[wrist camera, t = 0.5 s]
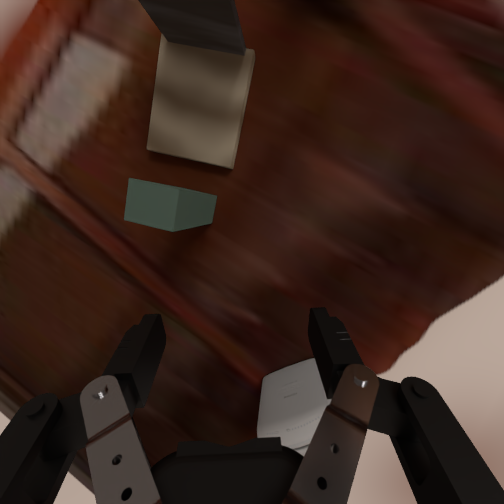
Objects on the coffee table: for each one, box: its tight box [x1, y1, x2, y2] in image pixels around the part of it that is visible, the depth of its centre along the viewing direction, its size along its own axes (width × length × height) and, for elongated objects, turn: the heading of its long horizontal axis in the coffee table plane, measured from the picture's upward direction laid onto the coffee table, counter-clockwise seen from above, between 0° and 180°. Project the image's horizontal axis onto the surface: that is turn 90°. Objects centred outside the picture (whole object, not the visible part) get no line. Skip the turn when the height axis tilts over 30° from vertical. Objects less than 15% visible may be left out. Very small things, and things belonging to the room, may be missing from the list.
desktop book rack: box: [139, 0, 255, 169], centre depth 27 cm, size 14×12×14 cm
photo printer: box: [257, 358, 332, 456], centre depth 33 cm, size 10×4×12 cm, turn 116°
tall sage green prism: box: [124, 178, 217, 232], centre depth 30 cm, size 4×5×13 cm
